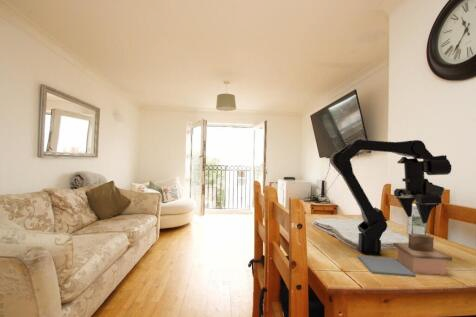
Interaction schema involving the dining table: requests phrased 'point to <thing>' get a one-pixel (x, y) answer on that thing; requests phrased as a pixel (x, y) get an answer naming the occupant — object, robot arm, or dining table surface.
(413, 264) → the pink open tray
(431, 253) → the walnut lid
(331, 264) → the dining table surface
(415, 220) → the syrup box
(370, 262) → the rubber mat
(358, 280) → the dining table surface
